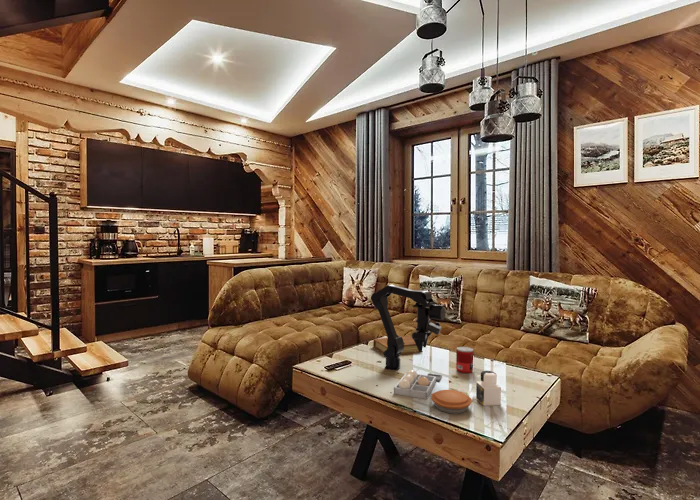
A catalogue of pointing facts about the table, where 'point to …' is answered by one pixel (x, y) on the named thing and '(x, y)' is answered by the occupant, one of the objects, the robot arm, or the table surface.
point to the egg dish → (438, 377)
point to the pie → (451, 401)
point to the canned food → (464, 359)
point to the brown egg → (423, 381)
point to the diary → (408, 346)
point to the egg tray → (416, 388)
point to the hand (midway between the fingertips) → (422, 349)
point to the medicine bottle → (488, 389)
